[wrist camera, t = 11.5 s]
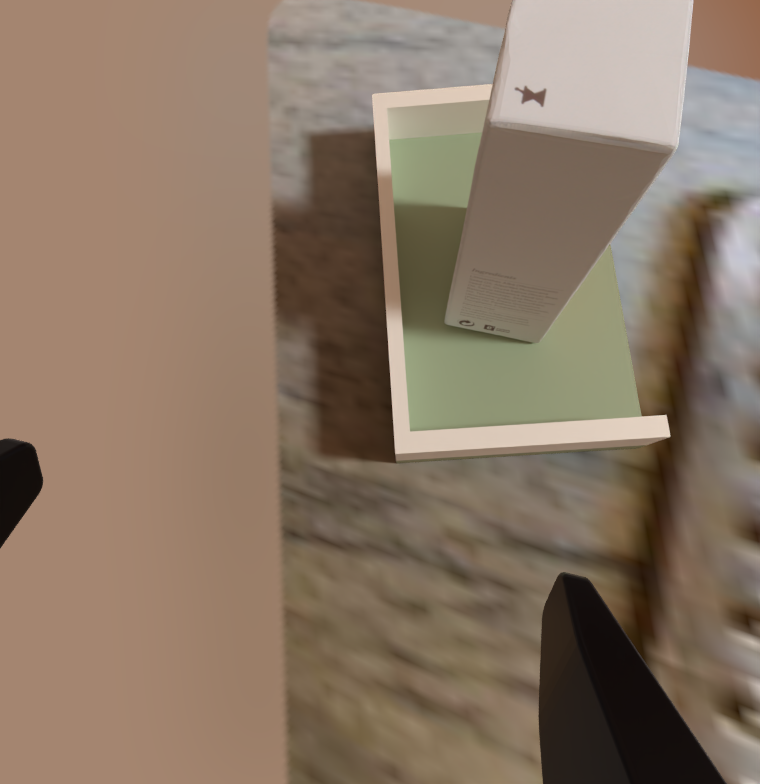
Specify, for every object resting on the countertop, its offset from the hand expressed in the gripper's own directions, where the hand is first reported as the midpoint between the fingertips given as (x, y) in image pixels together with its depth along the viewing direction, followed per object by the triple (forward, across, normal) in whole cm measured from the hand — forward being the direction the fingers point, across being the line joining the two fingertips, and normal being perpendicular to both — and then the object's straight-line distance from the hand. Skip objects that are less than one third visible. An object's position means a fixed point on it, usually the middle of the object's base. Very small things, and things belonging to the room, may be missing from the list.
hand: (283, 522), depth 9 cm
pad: (+18, -4, +1) cm, 18 cm away
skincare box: (+18, -4, +1) cm, 18 cm away
